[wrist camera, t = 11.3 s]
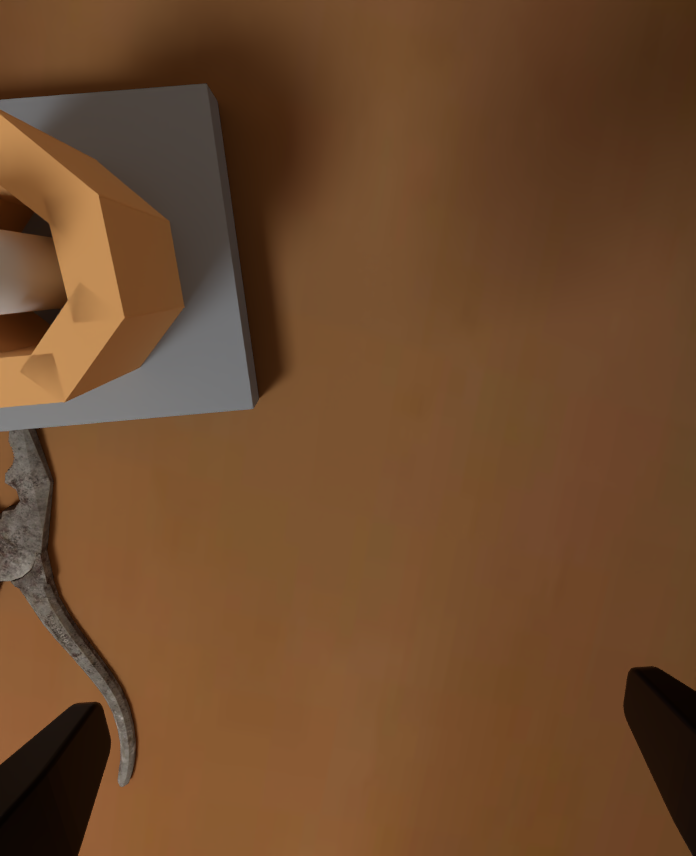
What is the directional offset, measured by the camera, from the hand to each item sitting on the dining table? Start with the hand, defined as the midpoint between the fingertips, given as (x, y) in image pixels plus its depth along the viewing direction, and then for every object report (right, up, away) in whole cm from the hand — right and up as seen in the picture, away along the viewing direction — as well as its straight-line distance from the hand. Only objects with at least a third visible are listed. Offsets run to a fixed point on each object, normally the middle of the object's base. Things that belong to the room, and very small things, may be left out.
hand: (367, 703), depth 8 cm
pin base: (-9, +10, +9) cm, 16 cm away
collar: (-9, +10, +7) cm, 15 cm away
